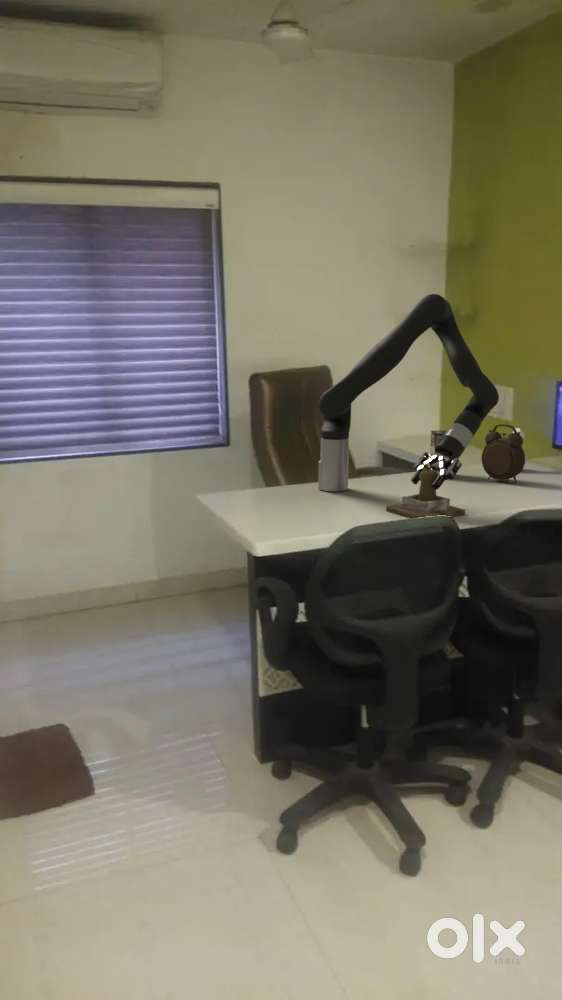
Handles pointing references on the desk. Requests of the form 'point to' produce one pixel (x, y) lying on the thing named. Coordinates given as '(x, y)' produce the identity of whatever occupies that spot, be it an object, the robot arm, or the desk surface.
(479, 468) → the desk surface
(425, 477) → the cork
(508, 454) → the alarm clock
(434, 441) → the coffee box
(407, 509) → the mount board
